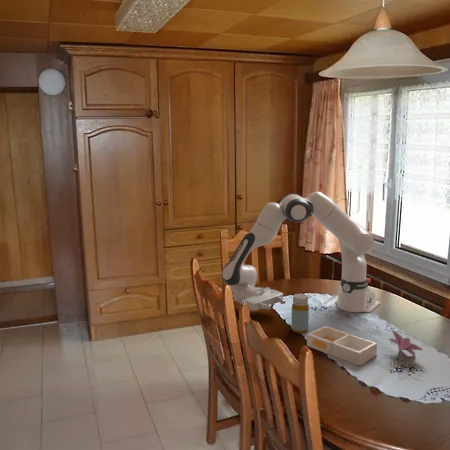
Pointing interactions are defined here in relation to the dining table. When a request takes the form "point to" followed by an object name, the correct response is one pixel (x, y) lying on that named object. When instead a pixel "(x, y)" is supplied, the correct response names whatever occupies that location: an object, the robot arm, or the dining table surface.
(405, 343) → the lily
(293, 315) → the bottle
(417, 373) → the dining table surface
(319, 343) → the caddy
